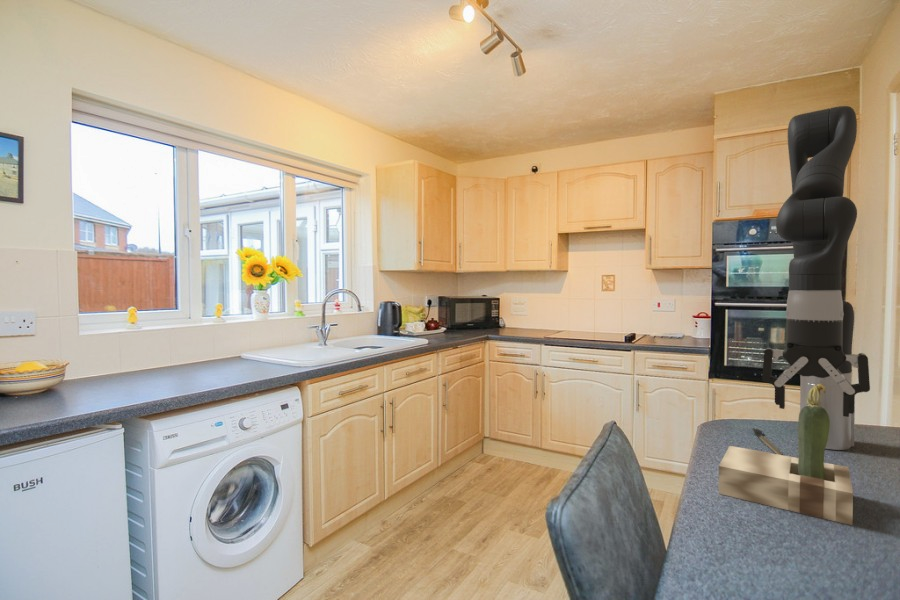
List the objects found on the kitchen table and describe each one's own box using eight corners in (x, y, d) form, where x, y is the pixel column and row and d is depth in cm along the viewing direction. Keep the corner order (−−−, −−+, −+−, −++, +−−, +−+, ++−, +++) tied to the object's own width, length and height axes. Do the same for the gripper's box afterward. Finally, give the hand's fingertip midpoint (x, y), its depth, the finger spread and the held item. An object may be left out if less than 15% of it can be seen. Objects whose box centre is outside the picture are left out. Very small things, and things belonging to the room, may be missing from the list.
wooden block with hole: (718, 493, 82) (718, 465, 82) (729, 470, 92) (729, 445, 92) (852, 525, 71) (852, 492, 71) (847, 494, 81) (848, 466, 81)
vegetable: (790, 495, 81) (792, 381, 84) (813, 498, 81) (814, 384, 85) (812, 502, 77) (813, 382, 80) (836, 505, 77) (836, 385, 80)
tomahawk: (811, 469, 95) (812, 464, 95) (773, 463, 97) (774, 457, 97) (779, 436, 115) (779, 432, 115) (748, 431, 117) (748, 427, 117)
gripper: (868, 317, 77) (866, 413, 77) (765, 314, 86) (764, 401, 86) (872, 320, 71) (871, 424, 71) (761, 316, 80) (760, 409, 80)
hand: (812, 411), depth 79 cm, fingers open, 8 cm apart
